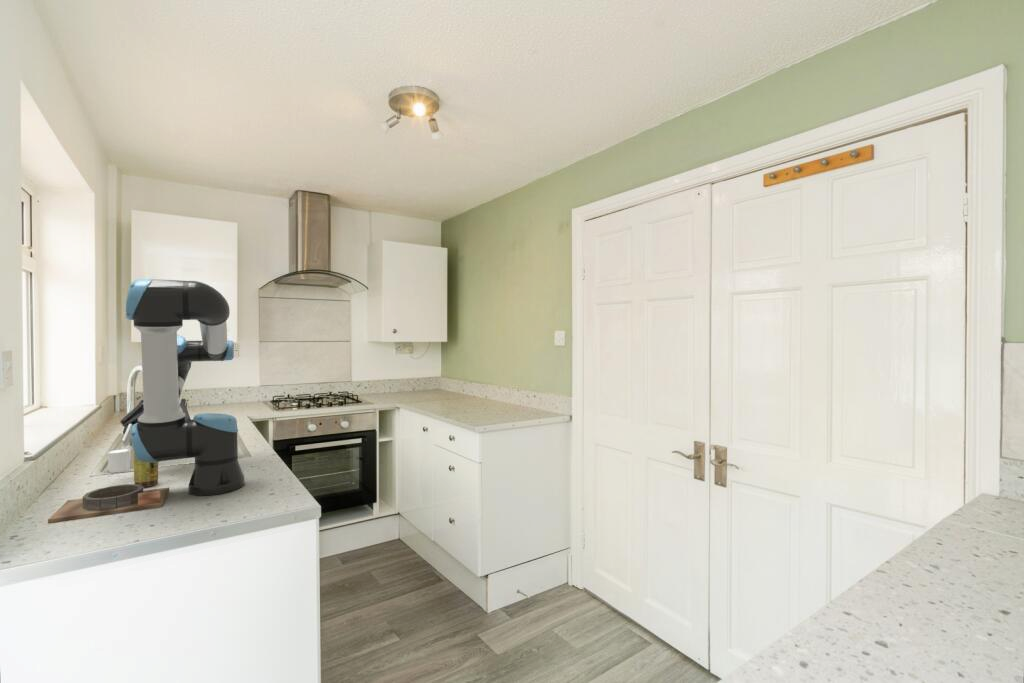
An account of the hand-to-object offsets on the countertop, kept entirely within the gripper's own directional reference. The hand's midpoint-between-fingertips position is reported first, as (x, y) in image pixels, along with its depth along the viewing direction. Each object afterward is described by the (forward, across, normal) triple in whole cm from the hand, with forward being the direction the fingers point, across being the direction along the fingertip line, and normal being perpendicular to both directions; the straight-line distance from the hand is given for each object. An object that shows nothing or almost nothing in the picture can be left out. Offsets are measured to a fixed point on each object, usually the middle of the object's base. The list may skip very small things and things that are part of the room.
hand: (148, 442), depth 159 cm
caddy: (+24, 0, +6) cm, 25 cm away
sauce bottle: (+12, 0, -8) cm, 14 cm away
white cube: (-3, +17, -23) cm, 29 cm away
